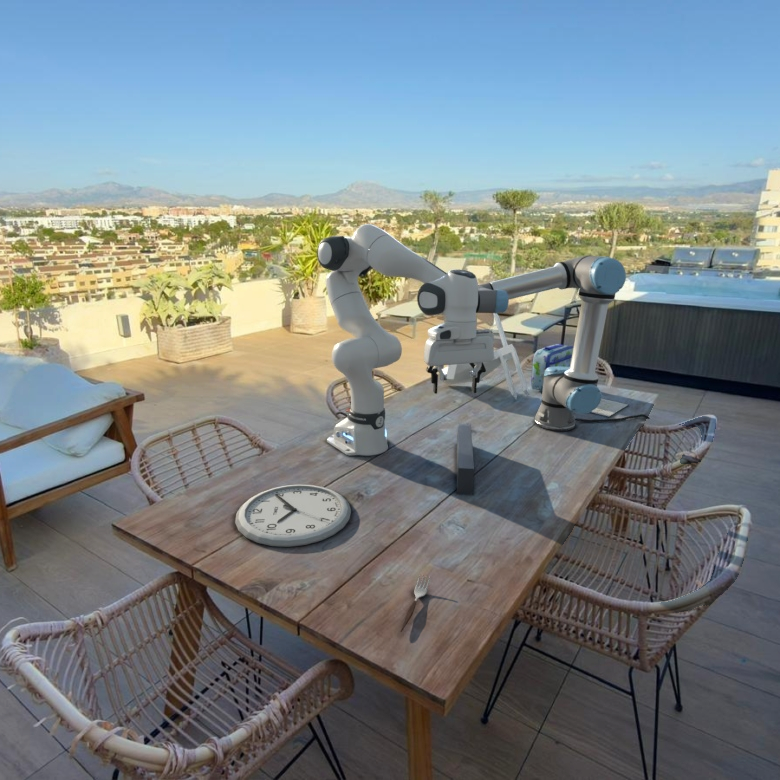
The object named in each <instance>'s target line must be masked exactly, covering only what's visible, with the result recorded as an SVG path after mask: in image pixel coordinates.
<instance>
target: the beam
mask: <svg viewBox="0 0 780 780" xmlns="http://www.w3.org/2000/svg"><path fill="white" fill-rule="evenodd" d="M472 436H473V435H472V424H471V423H464V422H463V423H462V422H457V431H456V494H462V495H463V494H466V495H473V491H474V476H475V462H474V449H473V437H472Z"/></svg>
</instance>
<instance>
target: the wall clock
mask: <svg viewBox="0 0 780 780" xmlns="http://www.w3.org/2000/svg"><path fill="white" fill-rule="evenodd" d="M351 514H352V509H351V504H350V503H349V501H348V500H347V499H346V498H345V497H344V496H343V495H341V494H340V493H338V492H337V491H335V490H333V489H330V488H327V487H323V486H318V485H313V484H290V485H289V484H288V485H282V486H277V487H272V488H269V489H267V490H264V491H261V492H259V493H257V494H255V495H254V496H252V497H250V498H248V499H247V500H246V501H245V502H244V503H243V504H242V505H240V507H239V509H238V510H237V511H236V514H235V520H234V524H235V526H236V529H237V531H238V532H239V533H240V534H241V535H242V536H243V537H245V538H246V539H248V540H250V541H252V542H254V543H257V544H261V545H266V546H270V547H283V548H284V547H285V548H286V547H287V548H289V547H298V546H306V545H311V544H313V543H319V542H322V541H324V540H327V539H328V538H330V537H332V536H334V535H336V534H337V533H339V532H340V531H341V530H343V529H345V526H346V525H347V524H348V522H350V518H351Z"/></svg>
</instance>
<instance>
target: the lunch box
mask: <svg viewBox="0 0 780 780" xmlns="http://www.w3.org/2000/svg"><path fill="white" fill-rule="evenodd" d="M573 348H574V345H573V346H572V345H565V344H560V343H555V344H552V345H547V346H545V347H542V348H539V349H537V350H536V351H535V353H534V355H533V358H532V363H531V364H532V365H531V376H530V377H531V378H530V387H531V389H532V390H536V391H539V392H540V391H541V392H542V391H543V382H544V373H545V370H546V369H547V368H548V367H570V364H571V359H572V353H573Z"/></svg>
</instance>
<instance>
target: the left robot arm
mask: <svg viewBox="0 0 780 780" xmlns="http://www.w3.org/2000/svg"><path fill="white" fill-rule="evenodd" d="M316 258H317V261H318V263H319V265H320V266H321V267H322V268H323V269H325V270H328V271H330V272H328V273H327V275H326V277H325V287H326V292H327V297H328V301H329V303H330V306H331V308H332V311H333V313H334V316H335V319H336V321H337V324H338V326H339V327H340V328H341V329H342V330H343V331H345V332H348V333H350V334H351V335H352V336H353V337H351V338H347V339H344V340H342V341H340V342H338V343H336V344H335V345H333V348H332V351H331V362H332V364H333V366H334V368H335V369H336V370H337V371H338V372H340V373H341V374H342V375H343V376H344V377H345V378H346V380H347V382H348V384H349V389H350V390H349V391H350V407H348V408H345V412H344V411H337V412H336V413H335V415H336V416H338V415H343V416H344V417H345V418H343V419H342V420H341V421H339V422H338V423H336V425H335V426H334V427H333V434H331V435H330V436H329V437H327V439H326V443H328V444H329V445H330V446H332V447H334V448H336V449H337V450H339V451H340V452H341V453H343V454H345V456H348V457H349V456H367V457H368V456H377V455H380V454H383V453H385V452H386V451H387V450H388V449H389V446H388V445H389V444H388V437H387V434H388V433H387V429H386V422H385V420H386V408H385V388H384V386H383V384H382V383H381V382H380V381H378V380H376V379H374V377H373V370H374V369H379V368H384V367H388V366H390V365H393V364H394V363H396V362H398V361H399V360H400V359H401V356H402V353H403V348H402V343H401V341H400V339H399V338H398V337H397V336H396V335H394V334H392V333H391V332H388V331H387V330H386V329H385V328H384V327H382V326H381V324H379V322H378V321H377V320H376V319H375V317H374V316H373V315H372V313H371V311H370V309H369V306H368V304H367V301H366V300H365V297H364V294H363V292H362V290H361V288H360V285H359V278H364V277H366V275H367V274H368V273H369V272H371V271H372V270H374V271H376V272H378V273H379V274H381V275H383V276H385V277H389V278H390V277H391V278H406V279H411V280H412V279H413V280H416V281H419V282H421V283H423V284H422V285H421V286H420V287H419V289H418V290H417V294H416V302H417V305H418V308H419V310H420V311H421V312H422V313H423V314H424V315H426V316H431V317H436V316H444V322H443V323H441V324H438V325H435V326H433V327H431V328H429V329H428V330H427V337H428V338H426V341H425V344H424V351H423V361H424V362H425V364H426V365H427V366H428V365H429V366H434V367H435V366H436V368H437V370H438V372H437V373H438V374H439V380H440V381H442V382H443V381H444V380H447V378H446V377H447V374H445V373H443V371H442V369H444V368H445V367H444V366H449V365H453V364H466V363H474V365H475V367H474V369H473V371H470V377H471V378H477V373H478V371H479V369H480V368H481V366H482V362H491V361H492V360H493V358H494V350H495V347H494V340H495V333H494V332H493V330H490V328H483V329H482V328H481V329H480V328H479V329H478V328H477V327H478V316H477V313H476V308H477V305H478V285H479V282H478V278H477V275H476V274H474V273H473V272H471V271H470V270H464V269H451V270H449V271H448V272H446V271H445V270H443V269H441V268H440V267H439V266H437V265H435V264H433V263H432V262H431V261H429V260H428V259H426V258H424V257H422V256H421V255H419V254H418V253H416V252H414V251H413V250H411V249H410V248H408V247H406V245H404V244H403V243H401V242H400V241H398V239H396V238H395V237H394V236H392V234H389V233H388V232H387V231H385V230H384V229H382V228H380V227H378V226H376V225H374V224H371V223H366V224H362V225H361V226H359V227H357V229H356V230H355V231H354V233H353V235H352V236H344V235H333V236H332V235H331V236H328V237H324V238H322V239H321V240H320V242H319V244H318V246H317V249H316Z"/></svg>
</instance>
